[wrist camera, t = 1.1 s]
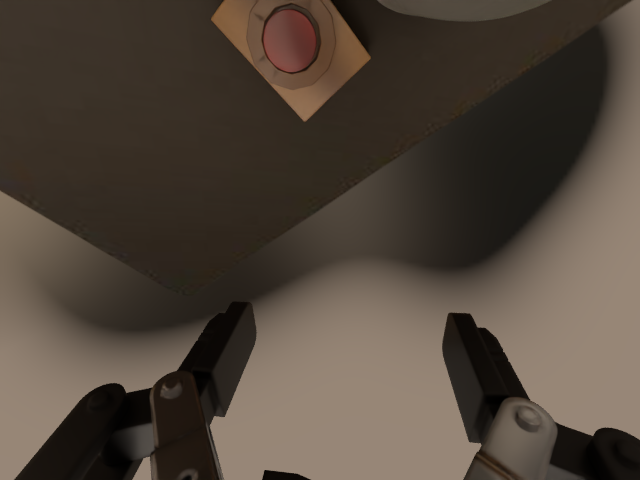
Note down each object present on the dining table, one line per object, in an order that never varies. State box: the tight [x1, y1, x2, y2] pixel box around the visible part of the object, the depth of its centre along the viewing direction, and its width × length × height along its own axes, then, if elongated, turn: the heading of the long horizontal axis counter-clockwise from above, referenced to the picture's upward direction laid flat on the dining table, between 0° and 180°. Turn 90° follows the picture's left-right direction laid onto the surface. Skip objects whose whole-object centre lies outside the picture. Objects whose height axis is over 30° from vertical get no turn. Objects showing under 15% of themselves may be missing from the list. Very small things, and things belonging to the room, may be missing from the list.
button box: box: [211, 0, 371, 122], centre depth 26 cm, size 8×11×4 cm
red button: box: [263, 9, 317, 72], centre depth 24 cm, size 4×4×2 cm
